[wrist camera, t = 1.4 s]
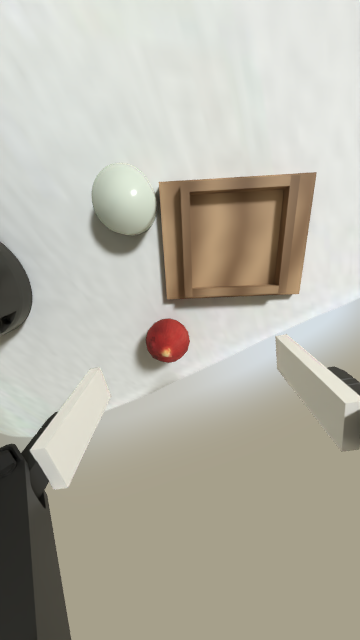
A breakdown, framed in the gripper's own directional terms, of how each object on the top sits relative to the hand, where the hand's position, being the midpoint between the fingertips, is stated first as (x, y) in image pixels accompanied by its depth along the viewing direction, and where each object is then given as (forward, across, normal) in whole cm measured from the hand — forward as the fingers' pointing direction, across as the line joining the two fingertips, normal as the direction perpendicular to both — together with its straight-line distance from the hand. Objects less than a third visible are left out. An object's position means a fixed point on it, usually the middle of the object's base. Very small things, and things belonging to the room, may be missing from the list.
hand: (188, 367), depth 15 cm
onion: (+16, -3, -3) cm, 17 cm away
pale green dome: (+16, -4, +14) cm, 22 cm away
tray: (+16, +8, +8) cm, 19 cm away
